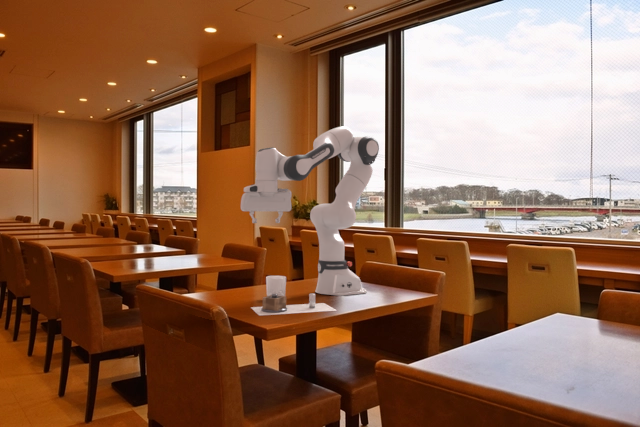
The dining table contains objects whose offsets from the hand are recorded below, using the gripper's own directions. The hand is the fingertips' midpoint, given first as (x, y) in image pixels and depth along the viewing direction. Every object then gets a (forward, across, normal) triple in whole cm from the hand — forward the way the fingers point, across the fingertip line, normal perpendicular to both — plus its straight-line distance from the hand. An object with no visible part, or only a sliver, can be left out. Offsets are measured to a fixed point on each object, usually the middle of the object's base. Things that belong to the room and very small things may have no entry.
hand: (266, 222), depth 205 cm
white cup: (+31, -3, +5) cm, 32 cm away
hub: (+30, +3, +26) cm, 39 cm away
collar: (+29, +3, +26) cm, 39 cm away
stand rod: (+30, -11, +26) cm, 41 cm away
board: (+31, -4, +26) cm, 41 cm away
